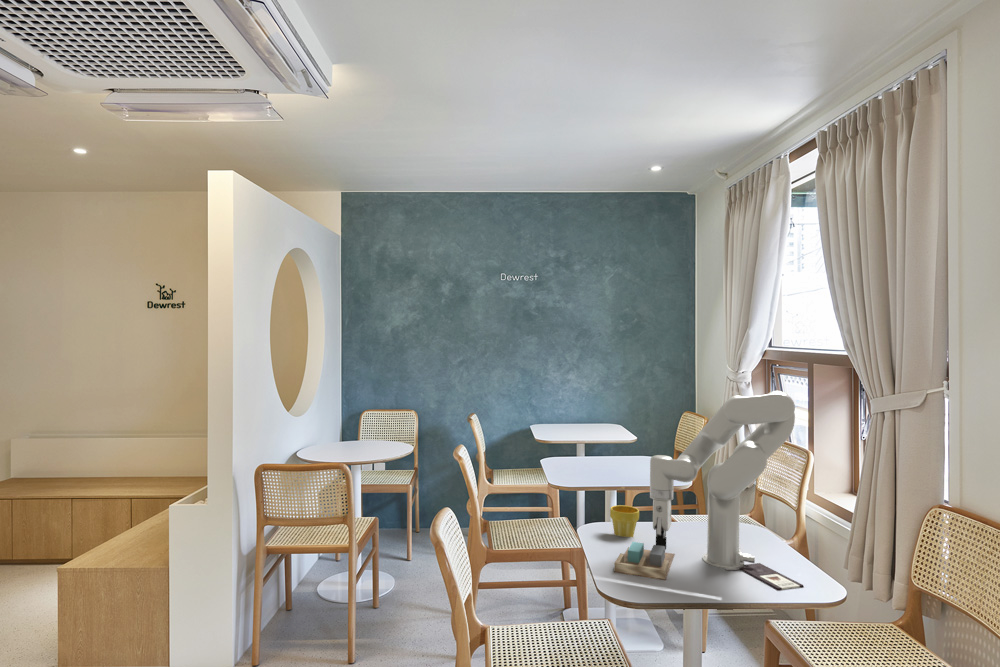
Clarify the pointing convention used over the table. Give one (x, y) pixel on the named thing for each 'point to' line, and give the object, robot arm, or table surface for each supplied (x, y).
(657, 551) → the grey rectangular block
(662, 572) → the comb board
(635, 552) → the aqua foam brick
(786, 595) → the table surface
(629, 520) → the plant pot
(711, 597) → the table surface
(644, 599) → the table surface
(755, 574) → the chocolate bar
